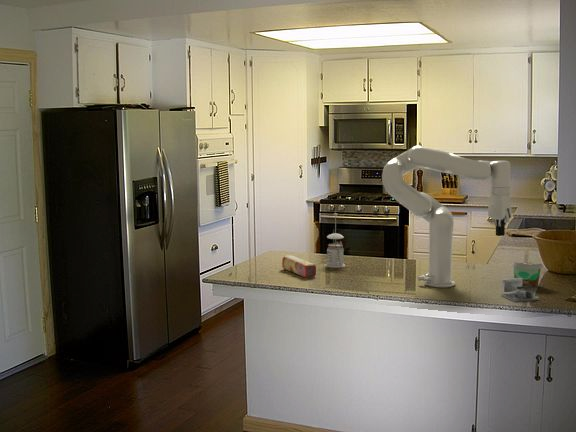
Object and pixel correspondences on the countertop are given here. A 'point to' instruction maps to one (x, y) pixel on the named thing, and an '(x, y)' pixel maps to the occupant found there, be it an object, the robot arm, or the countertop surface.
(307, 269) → the snack package
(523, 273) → the food container
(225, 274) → the countertop surface
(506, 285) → the grey boxy piece
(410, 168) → the robot arm
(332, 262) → the french press
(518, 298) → the gauge body
